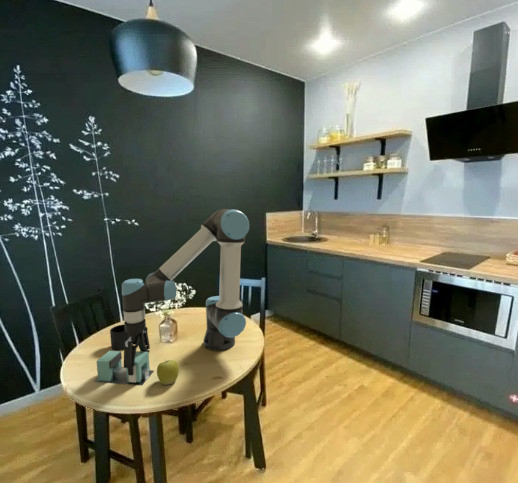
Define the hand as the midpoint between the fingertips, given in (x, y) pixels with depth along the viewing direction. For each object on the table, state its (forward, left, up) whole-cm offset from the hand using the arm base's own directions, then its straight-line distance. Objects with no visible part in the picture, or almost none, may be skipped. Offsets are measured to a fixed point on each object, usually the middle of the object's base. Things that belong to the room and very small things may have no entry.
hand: (138, 375), depth 121 cm
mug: (+20, -24, -1) cm, 31 cm away
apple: (-12, +1, -1) cm, 13 cm away
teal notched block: (+12, 0, -1) cm, 12 cm away
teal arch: (0, 0, 0) cm, 0 cm away
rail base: (+6, 0, -1) cm, 6 cm away
